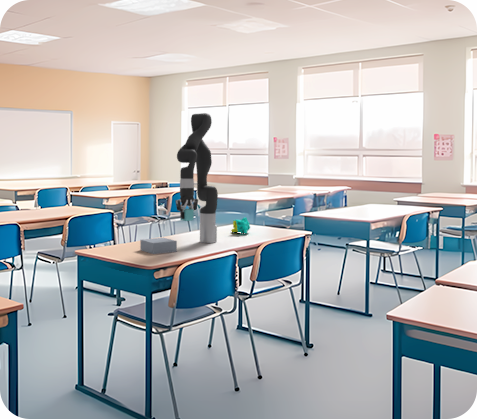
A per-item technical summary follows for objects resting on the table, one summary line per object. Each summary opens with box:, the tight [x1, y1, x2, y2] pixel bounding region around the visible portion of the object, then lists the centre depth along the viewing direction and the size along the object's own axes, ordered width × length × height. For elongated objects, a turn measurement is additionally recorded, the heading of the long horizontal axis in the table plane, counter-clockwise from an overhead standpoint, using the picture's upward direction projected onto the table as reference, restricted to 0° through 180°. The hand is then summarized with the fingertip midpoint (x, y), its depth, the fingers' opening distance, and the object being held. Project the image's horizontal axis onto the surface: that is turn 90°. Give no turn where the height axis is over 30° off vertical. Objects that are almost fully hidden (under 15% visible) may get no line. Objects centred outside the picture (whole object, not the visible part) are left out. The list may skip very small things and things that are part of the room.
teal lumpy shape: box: [230, 216, 251, 234], centre depth 355 cm, size 15×12×13 cm
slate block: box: [139, 237, 178, 255], centre depth 285 cm, size 14×14×6 cm
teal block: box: [180, 208, 195, 222], centre depth 288 cm, size 5×5×6 cm
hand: (186, 218), depth 289 cm, fingers closed on teal block, 5 cm apart
